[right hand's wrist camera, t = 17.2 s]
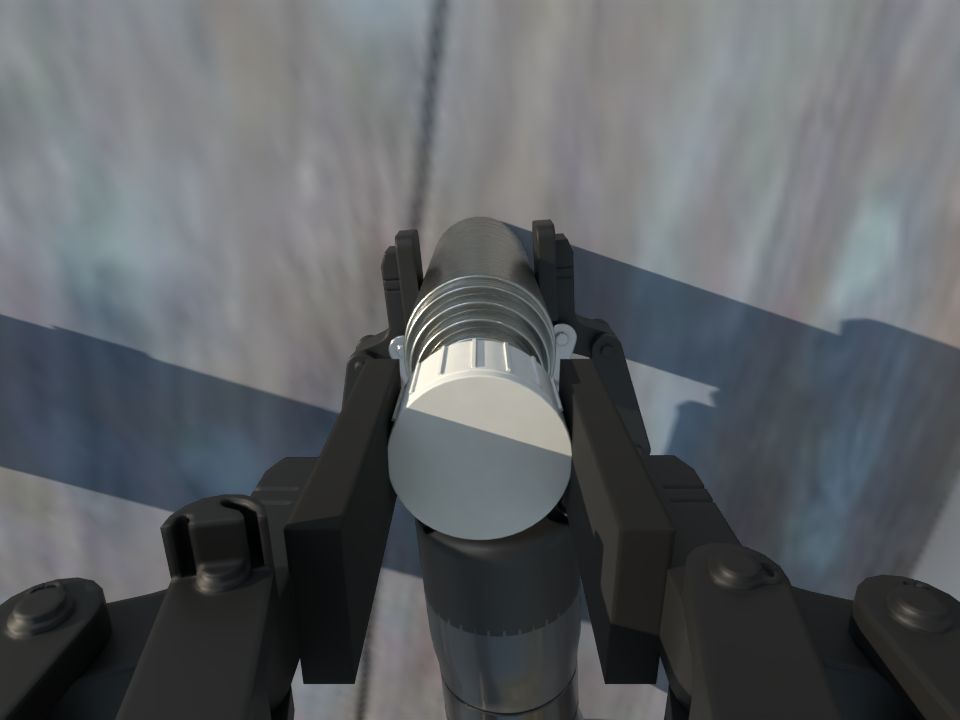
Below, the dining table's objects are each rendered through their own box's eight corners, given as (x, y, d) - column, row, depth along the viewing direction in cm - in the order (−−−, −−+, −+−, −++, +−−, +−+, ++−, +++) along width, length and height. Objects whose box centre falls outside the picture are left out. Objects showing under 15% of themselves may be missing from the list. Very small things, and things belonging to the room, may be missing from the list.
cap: (466, 302, 14) (463, 333, 12) (596, 403, 15) (616, 448, 12) (365, 425, 15) (346, 474, 13) (492, 513, 16) (494, 572, 14)
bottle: (542, 286, 31) (624, 494, 13) (459, 325, 32) (432, 571, 14) (502, 200, 30) (535, 306, 12) (416, 243, 30) (326, 403, 13)
